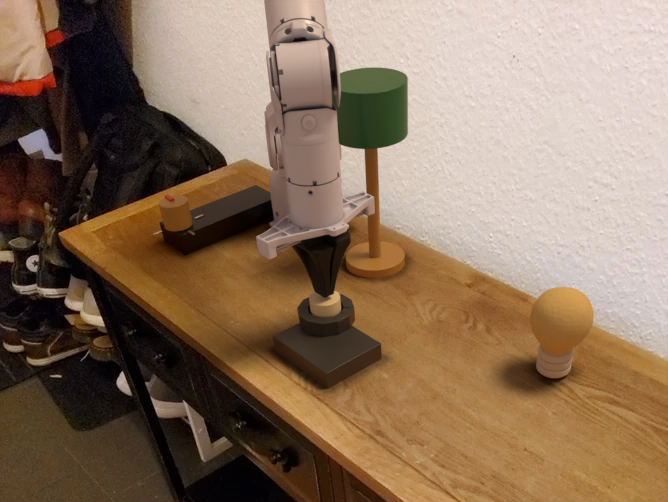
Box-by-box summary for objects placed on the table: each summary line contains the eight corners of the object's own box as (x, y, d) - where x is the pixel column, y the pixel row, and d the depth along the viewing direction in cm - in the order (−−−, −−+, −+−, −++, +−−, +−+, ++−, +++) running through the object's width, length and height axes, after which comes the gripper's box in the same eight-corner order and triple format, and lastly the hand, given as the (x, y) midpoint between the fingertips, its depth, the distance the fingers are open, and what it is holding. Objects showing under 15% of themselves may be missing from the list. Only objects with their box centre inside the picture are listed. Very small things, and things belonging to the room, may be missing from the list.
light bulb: (582, 391, 79) (599, 311, 72) (521, 386, 80) (532, 306, 73) (582, 356, 84) (597, 277, 77) (524, 352, 85) (534, 273, 78)
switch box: (268, 347, 88) (264, 318, 85) (332, 315, 92) (329, 286, 89) (328, 389, 82) (324, 359, 79) (393, 352, 86) (392, 323, 83)
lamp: (329, 263, 101) (313, 81, 85) (378, 240, 105) (372, 62, 89) (372, 288, 96) (364, 99, 80) (422, 263, 100) (424, 78, 84)
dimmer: (173, 265, 103) (168, 244, 101) (144, 245, 108) (138, 224, 106) (285, 218, 112) (283, 197, 109) (254, 201, 116) (251, 181, 114)
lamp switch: (304, 310, 87) (302, 297, 85) (328, 298, 88) (327, 285, 87) (323, 322, 85) (322, 309, 83) (347, 310, 86) (346, 297, 85)
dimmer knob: (197, 225, 105) (192, 199, 102) (172, 234, 103) (166, 208, 100) (184, 215, 107) (178, 190, 104) (159, 224, 105) (153, 198, 103)
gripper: (278, 210, 70) (294, 331, 79) (392, 163, 76) (394, 281, 86) (237, 188, 74) (257, 306, 83) (348, 145, 80) (355, 260, 90)
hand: (324, 292), depth 85 cm, fingers closed
